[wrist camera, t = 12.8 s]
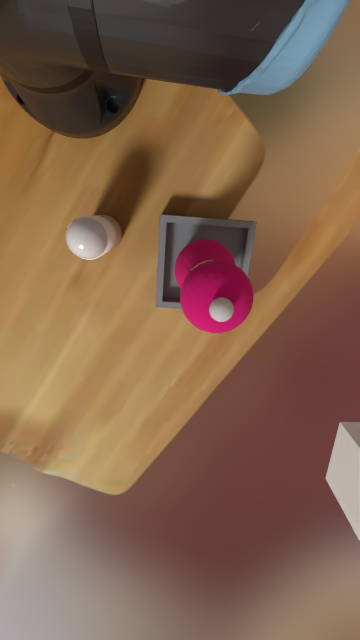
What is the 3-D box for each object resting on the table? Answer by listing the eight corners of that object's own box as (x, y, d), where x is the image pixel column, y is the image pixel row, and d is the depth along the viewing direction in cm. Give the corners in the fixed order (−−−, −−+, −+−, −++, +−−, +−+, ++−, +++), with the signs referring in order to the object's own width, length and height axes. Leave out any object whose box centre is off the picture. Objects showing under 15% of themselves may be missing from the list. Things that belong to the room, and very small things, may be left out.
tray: (161, 214, 38) (160, 214, 36) (251, 221, 38) (256, 222, 36) (157, 301, 42) (155, 306, 40) (238, 307, 42) (242, 312, 40)
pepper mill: (204, 223, 38) (229, 237, 19) (240, 265, 40) (295, 315, 21) (163, 262, 40) (149, 311, 21) (200, 301, 41) (217, 377, 23)
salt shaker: (87, 213, 38) (56, 215, 28) (121, 216, 38) (103, 218, 29) (88, 248, 39) (59, 261, 30) (121, 251, 40) (103, 264, 30)
